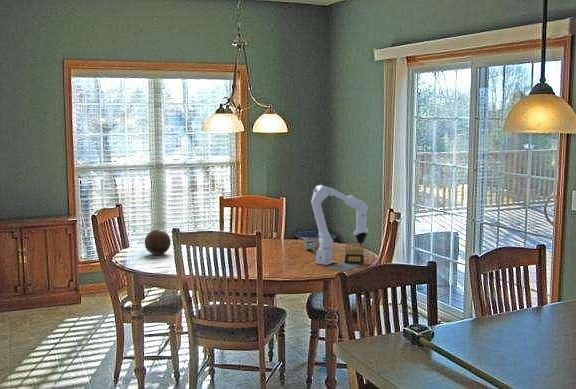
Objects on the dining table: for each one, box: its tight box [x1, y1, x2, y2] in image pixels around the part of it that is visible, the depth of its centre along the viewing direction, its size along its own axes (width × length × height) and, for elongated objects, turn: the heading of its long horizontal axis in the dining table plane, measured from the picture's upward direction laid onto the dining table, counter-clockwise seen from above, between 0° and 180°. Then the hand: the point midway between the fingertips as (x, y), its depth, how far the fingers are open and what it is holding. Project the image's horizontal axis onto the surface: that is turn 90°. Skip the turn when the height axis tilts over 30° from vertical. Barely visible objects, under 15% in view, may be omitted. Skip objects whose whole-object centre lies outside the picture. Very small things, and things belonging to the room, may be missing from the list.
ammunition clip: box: [343, 241, 365, 265], centre depth 373 cm, size 11×2×12 cm, turn 95°
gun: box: [303, 238, 320, 253], centre depth 403 cm, size 3×25×15 cm, turn 19°
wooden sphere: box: [144, 229, 171, 256], centre depth 392 cm, size 15×15×15 cm
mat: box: [326, 262, 361, 272], centre depth 364 cm, size 17×12×1 cm
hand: (360, 246), depth 379 cm, fingers closed
